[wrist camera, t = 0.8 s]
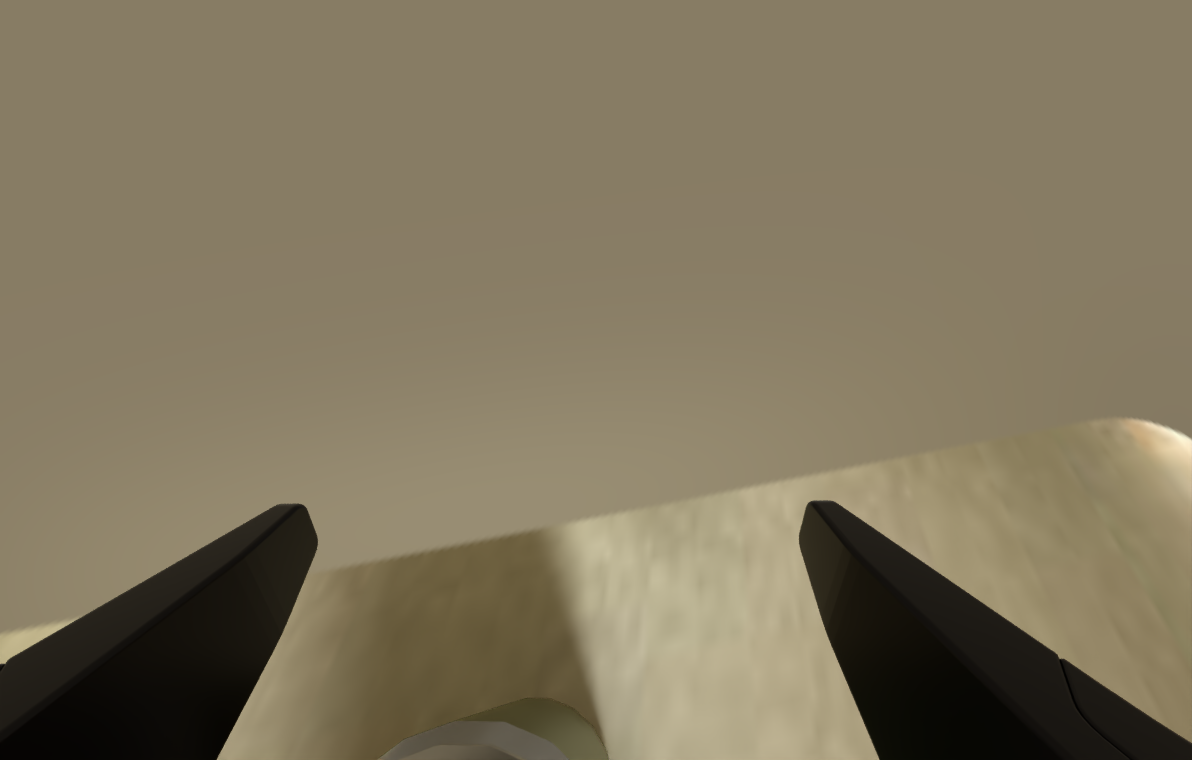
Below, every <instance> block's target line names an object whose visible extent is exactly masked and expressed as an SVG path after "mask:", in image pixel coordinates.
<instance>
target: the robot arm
mask: <svg viewBox="0 0 1192 760" xmlns="http://www.w3.org/2000/svg"><path fill="white" fill-rule="evenodd" d="M317 545H318V539H317V535H316V532H315V529H314V526H313V524H312V521H311V519H310V516H309V513H308V511H307V508H306V507H305V506H304V505H302V504H279V505H276V506H274V507H272V508H270V509H269V510H267V511H265V512H263V513H262V514H260V515H258V516H257V517H255V518H253V519H251V520H250V521H248V522H246V523H245V524H243V525H241V526H239V527H237V528H236V529H234V530H232V531H231V532H229V533H227V534H225V535H223V536H222V537H220V538H218V539H217V540H215V541H213V542H212V543H210V544H208V545H206V546H204V547H203V548H201V549H199V550H197V551H196V552H194V553H192V554H190V555H189V556H187V557H185V558H184V559H182V560H180V561H178V562H177V563H175V564H173V565H171V566H170V567H168V568H166V569H165V570H163V571H161V572H159V573H157V574H156V575H154V576H152V577H151V578H149V579H147V580H145V581H144V582H142V583H140V584H138V585H137V586H135V587H133V588H131V589H130V590H128V591H126V592H125V593H123V594H121V595H119V596H118V597H116V598H114V599H112V600H111V601H109V602H107V603H105V604H104V605H102V606H100V607H98V608H97V609H95V610H93V611H91V612H90V613H88V614H86V615H85V616H83V617H81V618H79V619H78V620H76V621H74V622H72V623H71V624H69V625H67V626H65V627H64V628H62V629H60V630H58V631H57V632H55V633H53V634H52V635H50V636H48V637H46V638H45V639H43V640H41V641H39V642H38V643H36V644H34V645H32V646H31V647H29V648H27V649H25V650H24V651H22V652H20V653H19V654H17V655H15V656H13V657H12V658H10V659H9V660H8V661H7V662H6V664H0V760H217V758H218V756H219V754H220V752H221V750H222V748H223V746H224V744H225V742H226V741H227V739H228V737H229V735H230V733H231V731H232V729H233V727H234V725H235V723H236V722H237V720H238V718H239V716H240V714H241V712H242V710H243V708H244V706H245V704H246V702H247V701H248V699H249V697H250V695H251V693H252V691H253V689H254V687H255V685H256V683H257V682H258V680H259V678H260V676H261V674H262V672H263V670H264V668H265V666H266V664H267V662H268V661H269V659H270V657H271V655H272V653H273V651H274V649H275V647H276V645H277V643H278V641H279V639H280V637H281V635H282V633H283V631H284V628H285V626H286V624H287V622H288V619H289V617H290V614H291V612H292V609H293V607H294V605H295V602H296V600H297V597H298V595H299V592H300V590H301V587H302V585H303V583H304V580H305V578H306V575H307V573H308V570H309V568H310V565H311V563H312V561H313V558H314V556H315V553H316V550H317ZM799 545H800V549H801V553H802V556H803V559H804V563H805V566H806V569H807V572H808V576H809V579H810V582H811V586H812V589H813V592H814V595H815V599H816V602H817V605H818V609H819V612H820V615H821V618H822V621H823V624H824V627H825V630H826V633H827V636H828V638H829V641H830V643H831V646H832V648H833V651H834V653H835V655H836V658H837V660H838V662H839V665H840V667H841V669H842V672H843V674H844V677H845V679H846V681H847V684H848V686H849V688H850V691H851V693H852V696H853V698H854V700H855V703H856V705H857V707H858V710H859V712H860V715H861V717H862V719H863V722H864V724H865V726H866V729H867V731H868V733H869V736H870V738H871V741H872V743H873V745H874V748H875V750H876V752H877V755H878V757H879V760H1192V743H1191V742H1189V741H1187V740H1186V739H1184V738H1183V737H1181V736H1180V735H1178V734H1176V733H1175V732H1173V731H1172V730H1170V729H1169V728H1167V727H1165V726H1164V725H1162V724H1161V723H1159V722H1158V721H1156V720H1154V719H1153V718H1151V717H1150V716H1148V715H1147V714H1145V713H1144V712H1142V711H1141V710H1139V709H1138V708H1136V707H1135V706H1133V705H1132V704H1130V703H1129V702H1127V701H1126V700H1124V699H1123V698H1121V697H1120V696H1118V695H1117V694H1115V693H1114V692H1112V691H1111V690H1109V689H1108V688H1106V687H1105V686H1103V685H1102V684H1100V683H1099V682H1097V681H1096V680H1094V679H1093V678H1091V677H1090V676H1089V675H1087V674H1086V673H1084V672H1083V671H1081V670H1080V669H1078V668H1077V667H1075V666H1074V665H1073V664H1071V663H1070V662H1068V661H1067V660H1065V659H1059V657H1058V655H1057V654H1056V653H1055V652H1053V651H1052V650H1050V649H1049V648H1047V647H1046V646H1045V645H1043V644H1042V643H1040V642H1039V641H1037V640H1036V639H1034V638H1033V637H1031V636H1030V635H1029V634H1027V633H1026V632H1024V631H1023V630H1021V629H1020V628H1018V627H1017V626H1015V625H1014V624H1012V623H1011V622H1010V621H1008V620H1007V619H1005V618H1004V617H1002V616H1001V615H999V614H998V613H996V612H995V611H994V610H992V609H991V608H989V607H988V606H986V605H985V604H983V603H982V602H980V601H979V600H978V599H976V598H975V597H973V596H972V595H970V594H969V593H967V592H966V591H964V590H963V589H961V588H960V587H959V586H957V585H956V584H954V583H953V582H951V581H950V580H948V579H947V578H945V577H944V576H943V575H941V574H940V573H938V572H937V571H935V570H934V569H932V568H931V567H929V566H928V565H926V564H925V563H924V562H922V561H921V560H919V559H918V558H916V557H915V556H913V555H912V554H910V553H909V552H908V551H906V550H905V549H903V548H902V547H900V546H899V545H897V544H896V543H894V542H893V541H891V540H890V539H889V538H887V537H886V536H884V535H883V534H881V533H880V532H878V531H877V530H875V529H874V528H873V527H871V526H870V525H868V524H867V523H865V522H864V521H862V520H861V519H859V518H858V517H857V516H855V515H854V514H852V513H851V512H849V511H848V510H846V509H845V508H843V507H842V506H840V505H839V504H838V503H836V502H834V501H811V502H809V503H808V504H807V506H806V510H805V513H804V517H803V521H802V525H801V529H800V533H799Z"/></svg>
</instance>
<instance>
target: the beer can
mask: <svg viewBox="0 0 1192 760" xmlns="http://www.w3.org/2000/svg"><path fill="white" fill-rule="evenodd" d="M377 760H609V759H608V755H607V751H606V749H605V747H604V746H603V744H602V742H601V740H600V739H599V737H598V735H597V733H596V732H595V730H594V728H593V726H592V725H591V724H590V723H589V722H588V721H587V720H585V719H584V718H583V717H582V716H581V715H580V714H579V713H578V712H577V711H576V710H575V709H574V708H572V707H570V706H567V705H565V704H562V703H560V702H558V701H555V700H553V699H549V698H525V699H522V700H519V701H516V702H513V703H510V704H506V705H503V706H500V707H497V708H494V709H491V710H488V711H484V712H481V713H478V714H475V715H472V716H469V717H466V718H462V719H459V720H456V721H453V722H450V723H448V724H445V725H442V726H439V727H437V728H434V729H431V730H428V731H425V732H423V733H420V734H417V735H414V736H412V737H409V738H406V739H404V740H402V741H401V742H400V743H398V744H397V745H396V746H394V747H393V748H392V749H391V750H389V751H388V752H387V753H385V754H384V755H383V756H381V757H380V758H379V759H377Z"/></svg>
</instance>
